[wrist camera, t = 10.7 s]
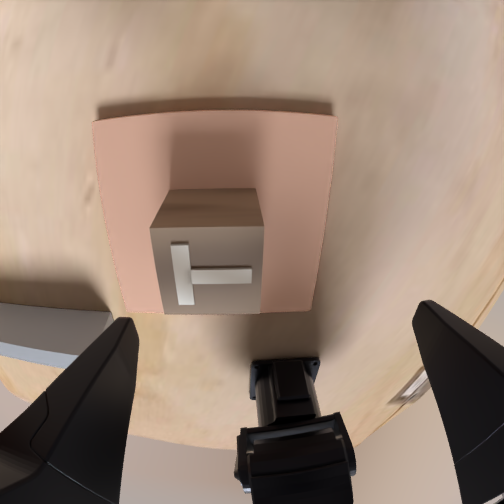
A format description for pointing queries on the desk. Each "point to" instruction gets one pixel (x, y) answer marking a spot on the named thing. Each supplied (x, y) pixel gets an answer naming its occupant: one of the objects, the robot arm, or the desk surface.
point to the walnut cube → (209, 251)
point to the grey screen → (48, 333)
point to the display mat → (218, 176)
